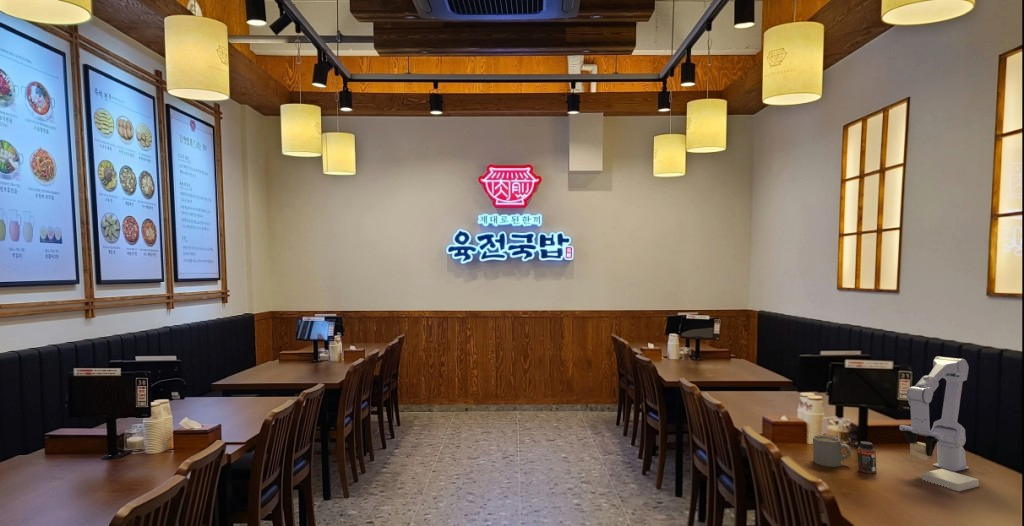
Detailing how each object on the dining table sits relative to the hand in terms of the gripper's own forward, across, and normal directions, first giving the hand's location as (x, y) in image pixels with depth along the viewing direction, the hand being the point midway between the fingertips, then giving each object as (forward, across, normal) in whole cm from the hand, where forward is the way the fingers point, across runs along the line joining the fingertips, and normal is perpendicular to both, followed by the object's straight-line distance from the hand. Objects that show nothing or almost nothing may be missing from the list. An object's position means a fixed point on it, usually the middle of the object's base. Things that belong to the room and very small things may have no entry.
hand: (921, 453), depth 204 cm
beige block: (+9, +9, +1) cm, 12 cm away
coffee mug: (+9, -23, -19) cm, 31 cm away
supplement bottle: (+9, -11, -15) cm, 21 cm away
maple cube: (+2, 0, 0) cm, 2 cm away
